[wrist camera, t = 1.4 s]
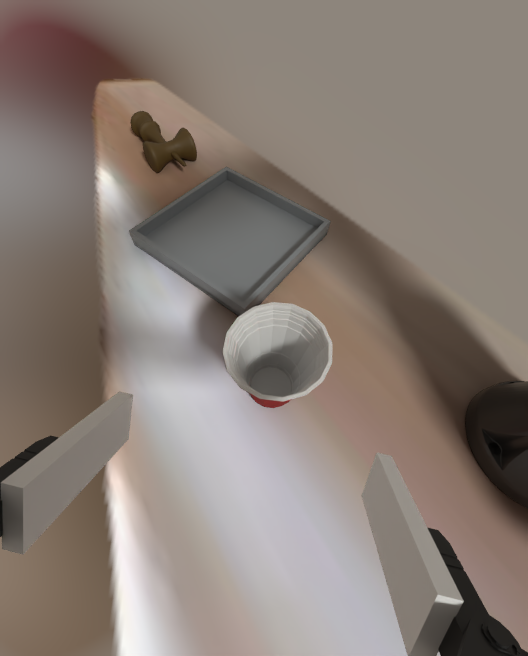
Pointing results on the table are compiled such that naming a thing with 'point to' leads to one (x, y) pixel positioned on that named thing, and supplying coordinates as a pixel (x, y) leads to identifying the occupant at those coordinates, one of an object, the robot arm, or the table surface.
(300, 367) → the plastic cup
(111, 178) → the table surface
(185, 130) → the kendama
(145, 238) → the grey tray
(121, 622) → the table surface
